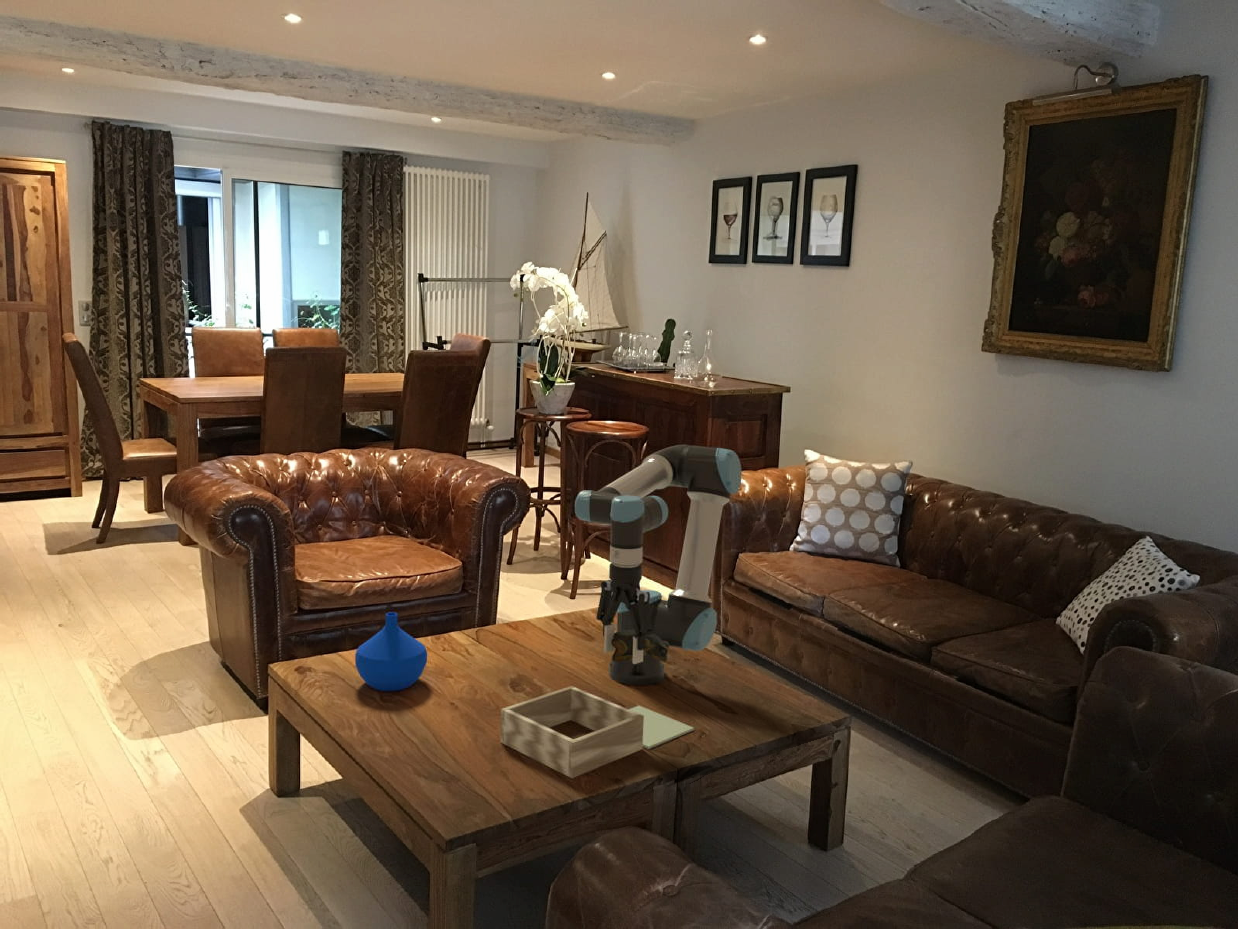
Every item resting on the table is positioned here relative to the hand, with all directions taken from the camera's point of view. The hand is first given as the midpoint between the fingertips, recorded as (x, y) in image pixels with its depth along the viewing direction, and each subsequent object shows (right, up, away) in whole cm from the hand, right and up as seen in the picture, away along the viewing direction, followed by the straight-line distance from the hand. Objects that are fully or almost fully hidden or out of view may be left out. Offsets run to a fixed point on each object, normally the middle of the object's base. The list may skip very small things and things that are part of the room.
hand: (623, 656), depth 239 cm
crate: (-12, -19, -5) cm, 23 cm away
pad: (+5, -18, +6) cm, 20 cm away
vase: (-60, -13, +28) cm, 68 cm away
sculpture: (+1, -3, -1) cm, 3 cm away
